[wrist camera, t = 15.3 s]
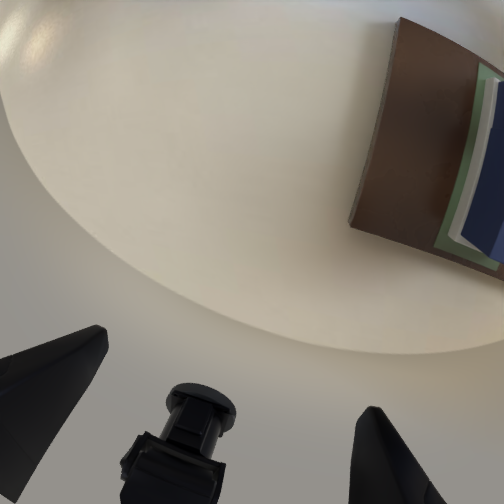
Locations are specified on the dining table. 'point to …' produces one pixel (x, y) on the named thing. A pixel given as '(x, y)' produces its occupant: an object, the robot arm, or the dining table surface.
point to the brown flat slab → (424, 145)
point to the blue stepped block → (485, 182)
